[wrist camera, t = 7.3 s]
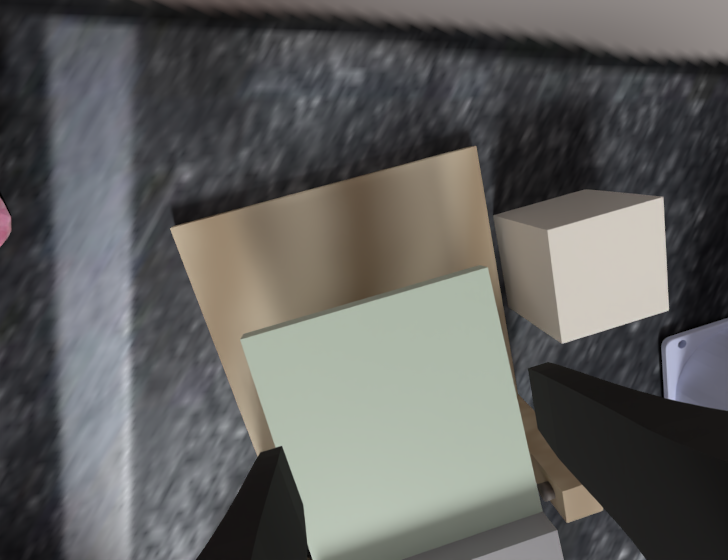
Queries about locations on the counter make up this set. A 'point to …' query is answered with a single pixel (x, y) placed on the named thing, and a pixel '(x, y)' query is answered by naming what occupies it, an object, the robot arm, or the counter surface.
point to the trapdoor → (404, 426)
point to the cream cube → (584, 261)
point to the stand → (351, 272)
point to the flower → (4, 223)
